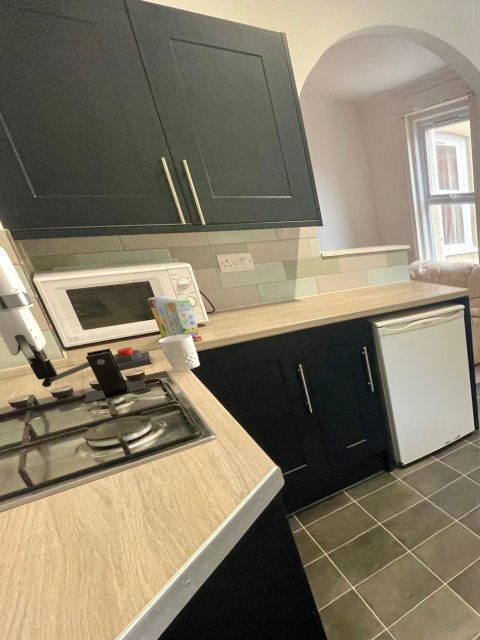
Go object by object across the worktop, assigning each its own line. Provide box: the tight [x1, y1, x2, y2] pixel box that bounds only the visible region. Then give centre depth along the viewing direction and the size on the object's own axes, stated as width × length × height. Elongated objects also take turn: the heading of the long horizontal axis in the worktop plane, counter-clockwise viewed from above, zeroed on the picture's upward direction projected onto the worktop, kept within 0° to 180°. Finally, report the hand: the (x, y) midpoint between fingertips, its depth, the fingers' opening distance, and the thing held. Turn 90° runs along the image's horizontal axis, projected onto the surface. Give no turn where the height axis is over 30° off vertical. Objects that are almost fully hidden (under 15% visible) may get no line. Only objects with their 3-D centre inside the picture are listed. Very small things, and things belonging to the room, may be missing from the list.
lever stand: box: [84, 347, 147, 405], centre depth 109 cm, size 12×9×12 cm
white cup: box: [157, 334, 201, 372], centre depth 124 cm, size 8×8×10 cm
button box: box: [113, 349, 153, 372], centre depth 131 cm, size 10×10×4 cm
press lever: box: [41, 352, 105, 388], centre depth 105 cm, size 13×6×2 cm, turn 130°
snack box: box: [147, 295, 203, 343], centre depth 155 cm, size 21×6×15 cm, turn 59°
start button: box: [117, 347, 134, 356], centre depth 130 cm, size 4×4×2 cm
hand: (47, 377), depth 102 cm, fingers closed
